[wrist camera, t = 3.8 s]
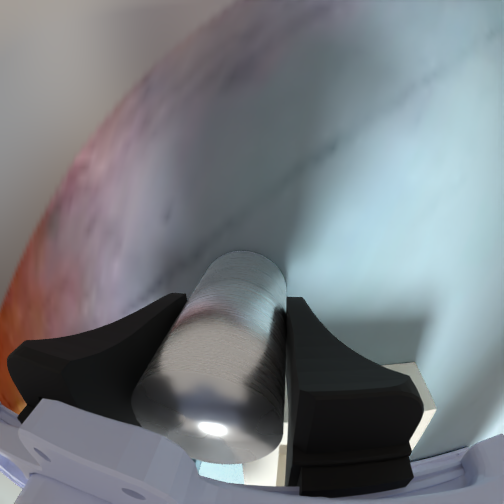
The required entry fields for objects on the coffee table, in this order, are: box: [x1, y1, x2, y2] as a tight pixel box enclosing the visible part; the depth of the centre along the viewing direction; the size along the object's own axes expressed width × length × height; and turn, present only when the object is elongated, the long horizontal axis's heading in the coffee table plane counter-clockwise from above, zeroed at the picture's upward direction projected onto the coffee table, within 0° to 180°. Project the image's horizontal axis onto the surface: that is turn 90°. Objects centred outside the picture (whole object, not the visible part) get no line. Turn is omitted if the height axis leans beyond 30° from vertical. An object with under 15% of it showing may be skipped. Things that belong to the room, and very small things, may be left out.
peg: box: [131, 251, 287, 464], centre depth 10 cm, size 4×4×8 cm
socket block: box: [242, 362, 437, 486], centre depth 15 cm, size 10×10×4 cm
